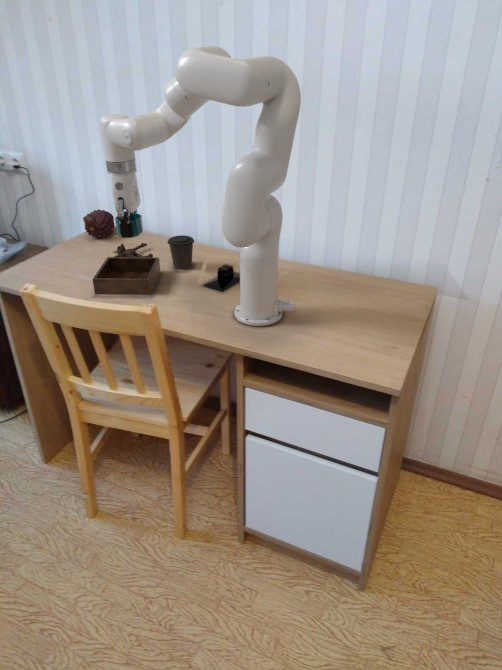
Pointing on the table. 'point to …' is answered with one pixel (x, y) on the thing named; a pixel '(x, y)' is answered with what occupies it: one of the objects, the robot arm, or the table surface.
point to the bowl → (136, 224)
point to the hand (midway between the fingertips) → (130, 231)
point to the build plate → (224, 279)
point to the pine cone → (99, 223)
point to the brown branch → (130, 251)
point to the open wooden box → (127, 276)
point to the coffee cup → (181, 251)
